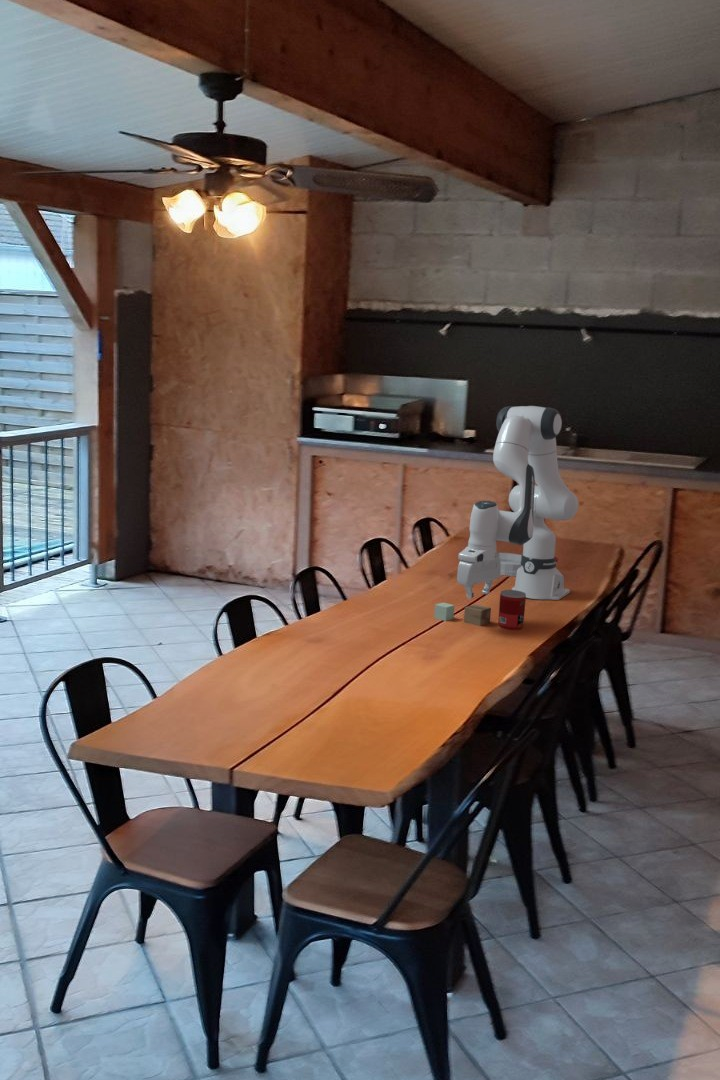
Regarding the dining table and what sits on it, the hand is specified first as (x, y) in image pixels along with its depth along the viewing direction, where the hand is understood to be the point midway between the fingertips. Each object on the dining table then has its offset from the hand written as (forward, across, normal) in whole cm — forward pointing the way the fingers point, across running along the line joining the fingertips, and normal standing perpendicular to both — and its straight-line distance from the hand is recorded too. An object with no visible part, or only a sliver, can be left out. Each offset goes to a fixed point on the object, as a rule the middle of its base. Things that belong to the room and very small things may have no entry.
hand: (477, 595), depth 337 cm
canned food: (+9, -5, +10) cm, 14 cm away
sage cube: (+9, +3, -10) cm, 14 cm away
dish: (+8, -77, -35) cm, 85 cm away
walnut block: (+9, -1, 0) cm, 9 cm away
